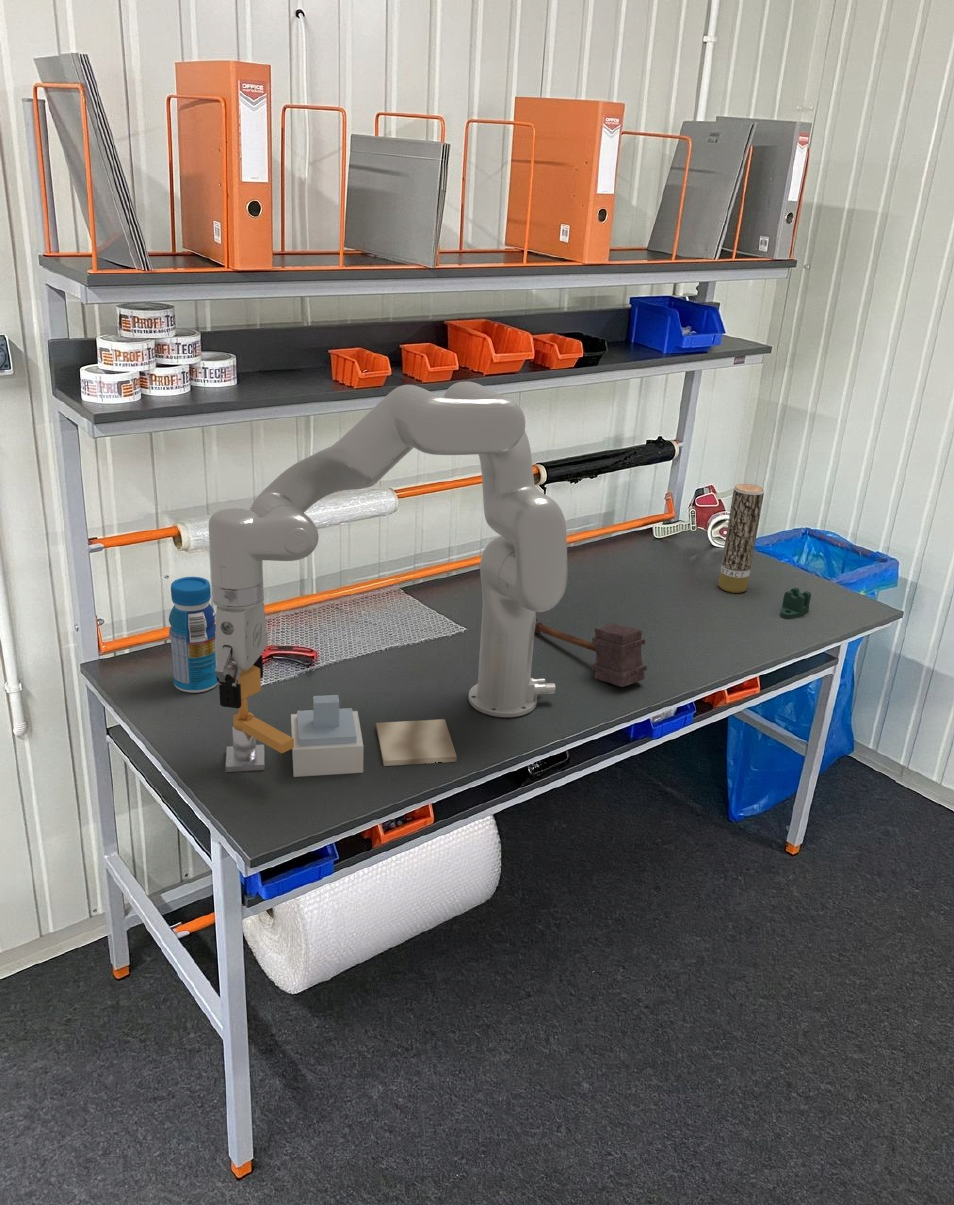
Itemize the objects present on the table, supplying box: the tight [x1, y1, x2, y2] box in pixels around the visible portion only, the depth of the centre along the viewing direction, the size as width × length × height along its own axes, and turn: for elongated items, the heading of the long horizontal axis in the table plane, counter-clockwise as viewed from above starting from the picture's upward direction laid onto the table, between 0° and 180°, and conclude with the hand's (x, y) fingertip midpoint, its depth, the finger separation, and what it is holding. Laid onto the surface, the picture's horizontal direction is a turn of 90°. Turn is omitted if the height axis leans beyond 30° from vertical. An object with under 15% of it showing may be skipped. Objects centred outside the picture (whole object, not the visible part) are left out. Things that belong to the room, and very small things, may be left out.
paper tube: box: [718, 483, 765, 594], centre depth 238 cm, size 7×7×25 cm
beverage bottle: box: [168, 576, 218, 694], centre depth 183 cm, size 8×8×20 cm
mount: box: [779, 587, 812, 620], centre depth 231 cm, size 11×4×5 cm, turn 137°
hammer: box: [534, 618, 648, 688], centre depth 204 cm, size 7×33×10 cm, turn 37°
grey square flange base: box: [225, 724, 265, 773], centre depth 163 cm, size 6×6×6 cm
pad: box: [375, 718, 458, 767], centre depth 171 cm, size 12×12×1 cm
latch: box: [230, 665, 294, 754], centre depth 157 cm, size 12×6×9 cm, turn 51°
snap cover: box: [296, 694, 357, 746], centre depth 164 cm, size 9×9×6 cm
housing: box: [290, 710, 364, 778], centre depth 166 cm, size 11×11×5 cm
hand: (242, 691), depth 159 cm, fingers open, 9 cm apart
